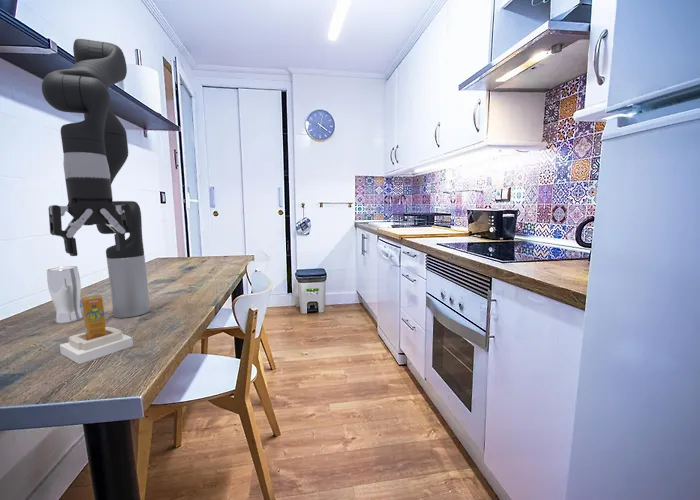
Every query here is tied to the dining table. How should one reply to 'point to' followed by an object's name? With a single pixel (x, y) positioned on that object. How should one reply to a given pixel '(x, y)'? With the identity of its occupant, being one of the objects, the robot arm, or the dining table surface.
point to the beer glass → (65, 293)
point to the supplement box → (94, 317)
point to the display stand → (95, 345)
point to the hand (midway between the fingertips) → (97, 253)
